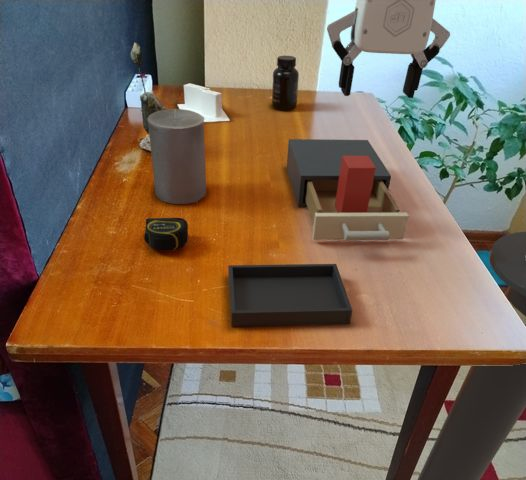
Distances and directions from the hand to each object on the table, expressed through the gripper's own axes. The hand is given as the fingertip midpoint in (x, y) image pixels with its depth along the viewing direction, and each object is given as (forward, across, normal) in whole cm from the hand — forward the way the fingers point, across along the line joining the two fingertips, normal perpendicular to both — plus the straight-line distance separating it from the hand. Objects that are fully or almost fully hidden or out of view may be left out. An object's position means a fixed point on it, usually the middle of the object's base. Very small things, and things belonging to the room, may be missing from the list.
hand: (376, 94), depth 73 cm
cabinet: (+21, -1, +15) cm, 26 cm away
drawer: (+20, -1, -1) cm, 20 cm away
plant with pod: (+22, -37, +34) cm, 54 cm away
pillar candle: (+22, -31, +12) cm, 39 cm away
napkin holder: (+22, -27, +59) cm, 68 cm away
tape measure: (+22, -33, -6) cm, 40 cm away
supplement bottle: (+22, -4, +64) cm, 67 cm away
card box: (+19, -1, 0) cm, 19 cm away
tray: (+21, -15, -22) cm, 34 cm away
